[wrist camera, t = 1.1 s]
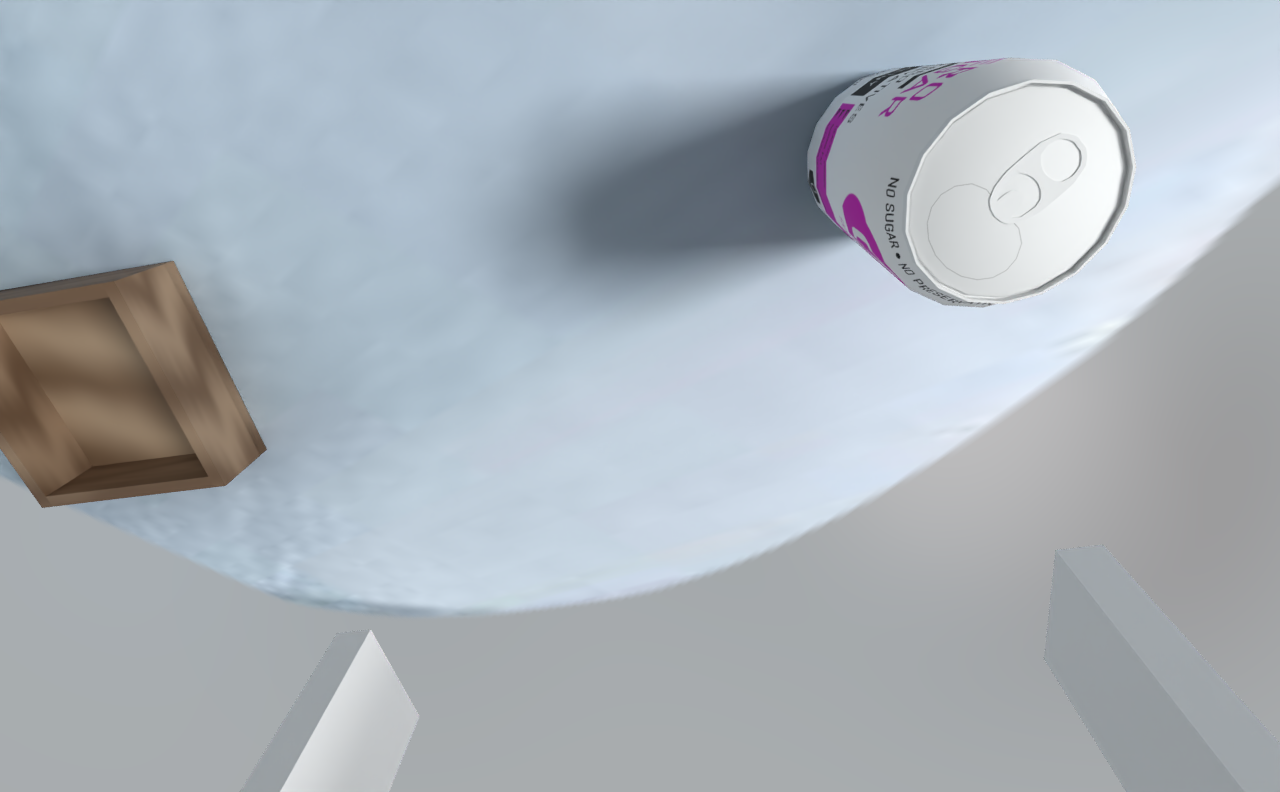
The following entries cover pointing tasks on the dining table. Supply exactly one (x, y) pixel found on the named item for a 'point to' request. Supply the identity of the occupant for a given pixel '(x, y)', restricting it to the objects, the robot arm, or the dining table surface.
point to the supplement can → (975, 175)
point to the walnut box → (117, 390)
